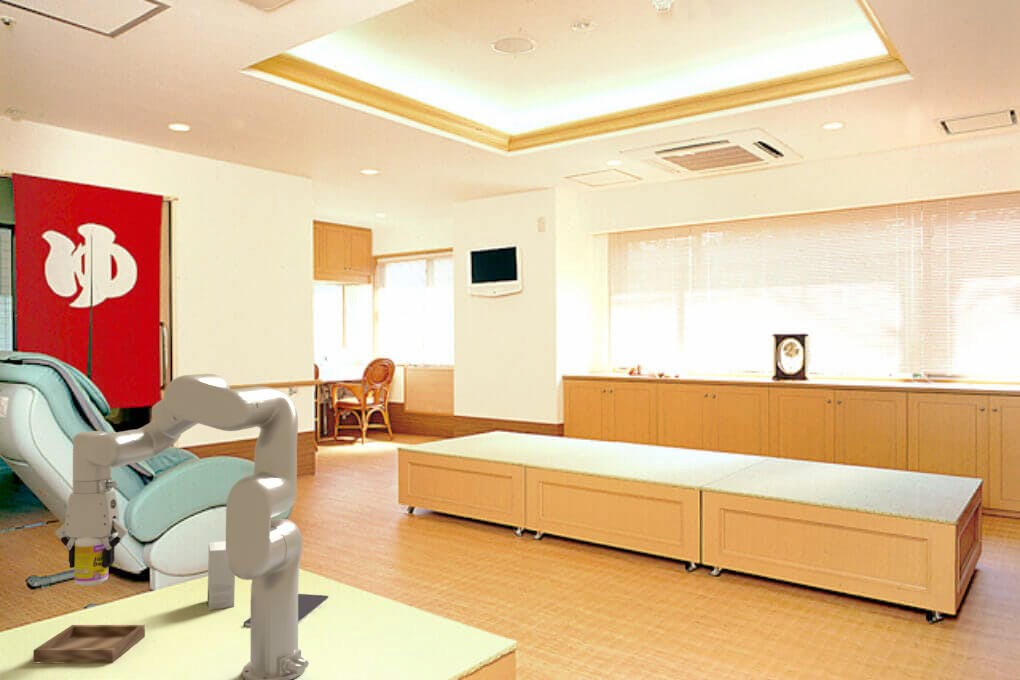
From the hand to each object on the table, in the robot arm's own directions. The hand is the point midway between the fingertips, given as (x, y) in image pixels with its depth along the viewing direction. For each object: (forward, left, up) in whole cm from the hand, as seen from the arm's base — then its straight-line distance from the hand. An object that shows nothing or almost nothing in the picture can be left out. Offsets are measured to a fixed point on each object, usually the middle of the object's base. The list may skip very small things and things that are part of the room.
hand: (91, 565), depth 164 cm
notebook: (-20, -39, -20) cm, 48 cm away
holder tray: (0, 0, -19) cm, 19 cm away
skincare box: (0, -34, -19) cm, 39 cm away
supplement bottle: (0, 0, -4) cm, 4 cm away
